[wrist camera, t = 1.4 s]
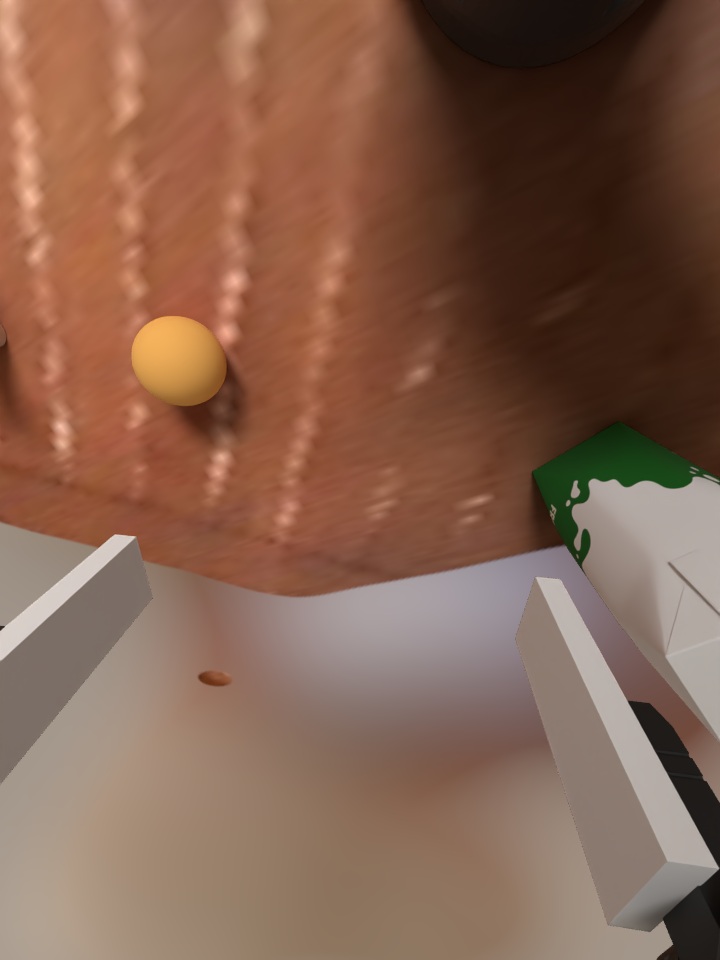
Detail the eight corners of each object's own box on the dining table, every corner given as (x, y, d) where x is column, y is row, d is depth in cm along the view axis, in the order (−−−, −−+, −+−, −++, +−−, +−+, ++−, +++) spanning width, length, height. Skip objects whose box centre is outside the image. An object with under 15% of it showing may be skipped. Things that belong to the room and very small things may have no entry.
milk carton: (671, 489, 30) (1064, 762, 13) (563, 542, 33) (756, 825, 16) (625, 403, 28) (1036, 592, 10) (513, 469, 31) (675, 707, 13)
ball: (158, 309, 28) (101, 312, 23) (237, 319, 28) (199, 324, 22) (168, 390, 31) (119, 410, 25) (240, 399, 30) (207, 421, 25)
